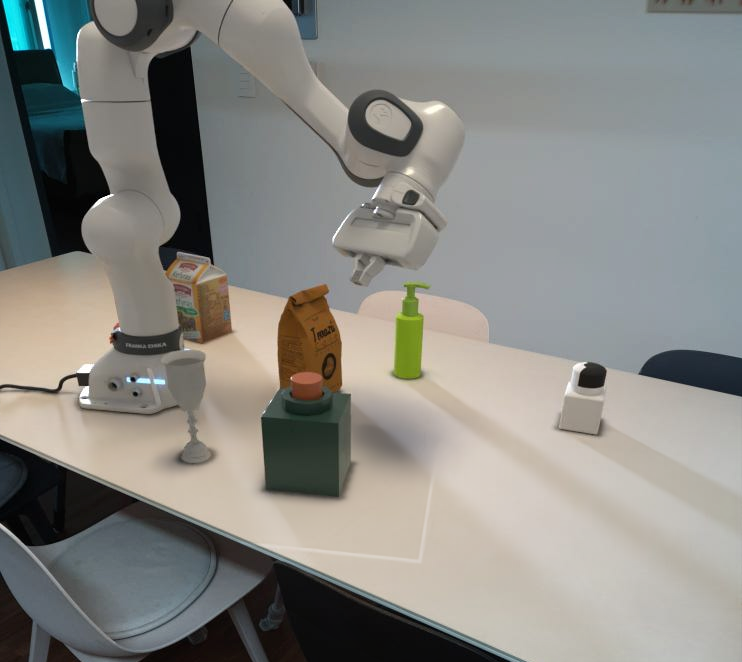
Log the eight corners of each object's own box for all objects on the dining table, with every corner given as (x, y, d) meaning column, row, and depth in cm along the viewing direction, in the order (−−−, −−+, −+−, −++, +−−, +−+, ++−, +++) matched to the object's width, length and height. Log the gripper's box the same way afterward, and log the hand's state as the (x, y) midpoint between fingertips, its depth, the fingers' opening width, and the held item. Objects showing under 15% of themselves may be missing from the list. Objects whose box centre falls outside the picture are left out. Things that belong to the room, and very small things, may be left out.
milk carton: (232, 331, 181) (225, 253, 171) (202, 343, 173) (193, 262, 163) (201, 323, 186) (192, 247, 176) (170, 335, 178) (160, 256, 168)
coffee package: (349, 392, 150) (350, 286, 138) (309, 412, 141) (306, 300, 130) (314, 380, 155) (311, 277, 143) (273, 398, 146) (266, 290, 135)
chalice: (195, 470, 121) (182, 369, 112) (166, 459, 124) (151, 360, 115) (225, 452, 126) (215, 355, 117) (196, 442, 129) (184, 346, 120)
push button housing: (265, 489, 116) (259, 404, 108) (282, 457, 125) (278, 376, 117) (339, 496, 115) (338, 410, 107) (350, 463, 124) (351, 382, 116)
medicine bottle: (599, 420, 141) (611, 361, 134) (597, 435, 135) (609, 375, 129) (562, 414, 143) (572, 356, 136) (558, 429, 137) (568, 369, 130)
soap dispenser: (423, 380, 156) (428, 288, 145) (391, 377, 157) (394, 285, 147) (426, 370, 161) (432, 280, 150) (396, 367, 162) (399, 278, 151)
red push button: (288, 400, 111) (287, 382, 109) (295, 388, 115) (295, 370, 113) (319, 402, 110) (318, 384, 108) (325, 390, 114) (324, 373, 113)
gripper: (348, 190, 118) (307, 264, 118) (431, 197, 104) (385, 281, 104) (372, 214, 123) (333, 285, 123) (455, 223, 108) (411, 304, 108)
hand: (357, 283), depth 113 cm, fingers closed
